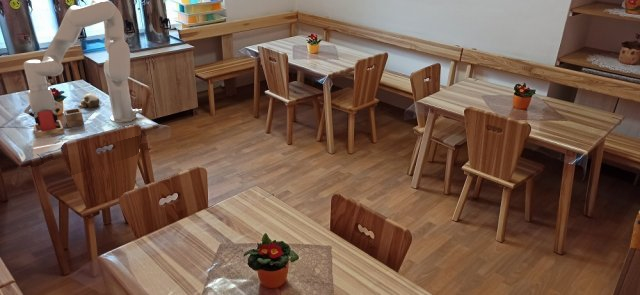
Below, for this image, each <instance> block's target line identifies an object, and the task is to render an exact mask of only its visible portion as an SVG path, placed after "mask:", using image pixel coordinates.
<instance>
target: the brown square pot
mask: <svg viewBox="0 0 640 295" xmlns="http://www.w3.org/2000/svg"><path fill="white" fill-rule="evenodd" d="M63 113H64V118H65V122H66V125H67V127H68V128H74V127H79V126H85V122H84V118H83V112H82V109H80V108H78V107H76V108H71V109H66V110H65V109H64V110H63Z"/></svg>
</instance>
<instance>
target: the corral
mask: <svg viewBox="0 0 640 295" xmlns="http://www.w3.org/2000/svg"><path fill="white" fill-rule="evenodd" d="M56 121H57V123H55V124H56V127H59V128H57V129H52V130H47V131H41V128H40V125H39V126H38V124H36V123H35V124H32V126H33V129H34V134H35V136H36V138H37V139H38V138H39V139H40V138H45V137H50V136H55V135H59V134H65V129H64V127H63V125H62V122H61V120H60V119H58V120H56ZM38 130H40V131H38Z"/></svg>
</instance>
